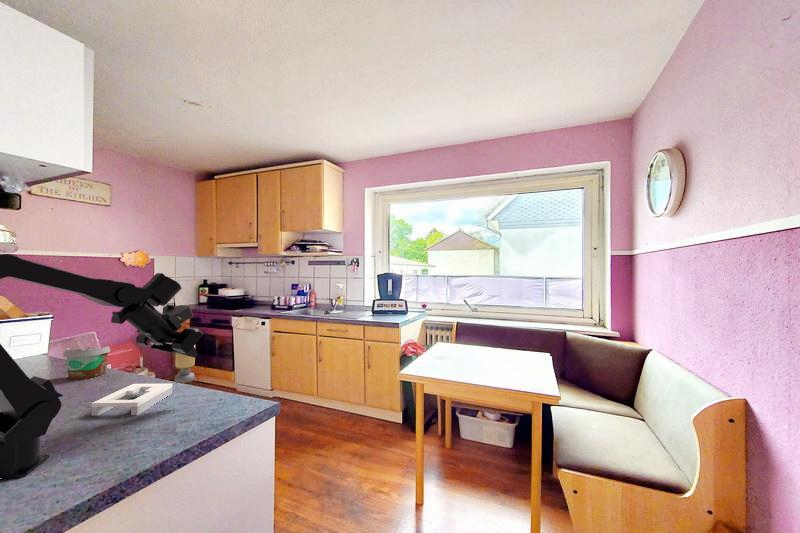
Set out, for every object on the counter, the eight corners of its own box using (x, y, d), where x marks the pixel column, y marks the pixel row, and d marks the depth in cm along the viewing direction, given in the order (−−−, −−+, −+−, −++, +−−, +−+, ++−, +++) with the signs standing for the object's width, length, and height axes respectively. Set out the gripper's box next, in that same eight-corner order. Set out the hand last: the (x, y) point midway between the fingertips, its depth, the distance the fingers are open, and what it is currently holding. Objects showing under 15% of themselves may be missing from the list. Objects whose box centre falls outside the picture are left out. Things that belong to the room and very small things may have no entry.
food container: (52, 383, 104) (53, 351, 104) (66, 376, 110) (67, 347, 110) (98, 380, 107) (99, 349, 108) (109, 374, 113) (110, 345, 114)
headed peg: (193, 381, 88) (194, 333, 88) (173, 384, 86) (175, 334, 86) (194, 377, 92) (196, 330, 92) (176, 379, 90) (177, 331, 90)
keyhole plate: (137, 415, 83) (137, 402, 83) (91, 415, 82) (91, 403, 82) (172, 394, 96) (172, 383, 97) (133, 394, 96) (133, 383, 96)
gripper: (197, 297, 82) (232, 334, 92) (150, 294, 89) (188, 328, 99) (163, 333, 75) (206, 369, 85) (114, 327, 82) (159, 360, 92)
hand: (190, 355), depth 90 cm, fingers closed on headed peg, 4 cm apart
